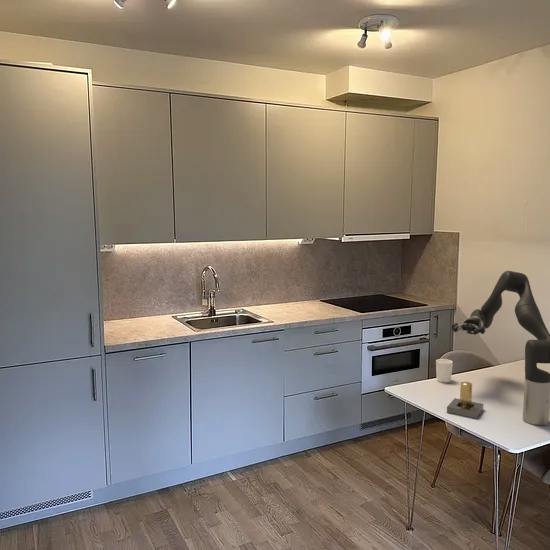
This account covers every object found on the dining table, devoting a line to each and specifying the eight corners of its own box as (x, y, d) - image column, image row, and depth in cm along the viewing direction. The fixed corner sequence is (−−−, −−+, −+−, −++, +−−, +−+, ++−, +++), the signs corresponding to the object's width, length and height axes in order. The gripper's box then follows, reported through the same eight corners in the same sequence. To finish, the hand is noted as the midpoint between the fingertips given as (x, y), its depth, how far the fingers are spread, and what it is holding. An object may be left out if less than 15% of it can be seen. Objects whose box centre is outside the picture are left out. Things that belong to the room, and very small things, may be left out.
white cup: (432, 379, 253) (432, 359, 252) (444, 377, 256) (445, 358, 255) (442, 383, 246) (443, 364, 245) (455, 381, 249) (456, 362, 247)
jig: (483, 409, 213) (483, 403, 213) (476, 418, 203) (476, 413, 203) (454, 403, 220) (454, 398, 219) (446, 412, 210) (446, 406, 210)
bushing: (472, 410, 212) (473, 383, 211) (469, 413, 208) (470, 386, 207) (461, 408, 215) (462, 381, 213) (458, 411, 211) (459, 384, 210)
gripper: (458, 315, 244) (449, 321, 231) (489, 318, 236) (481, 325, 223) (457, 330, 245) (448, 337, 231) (488, 334, 237) (480, 341, 223)
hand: (464, 331), depth 227 cm, fingers open, 8 cm apart
